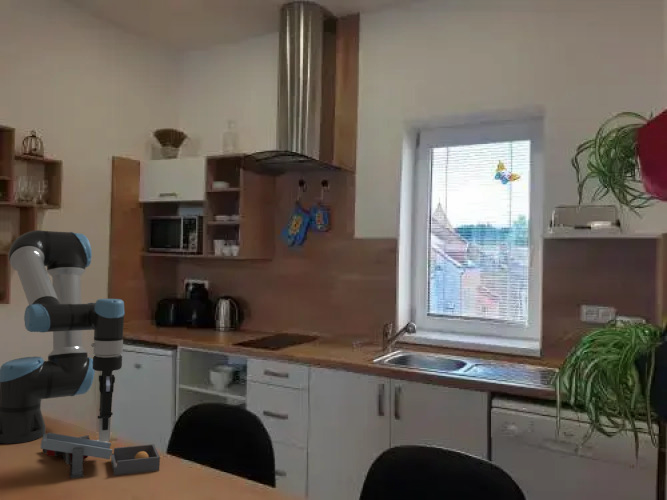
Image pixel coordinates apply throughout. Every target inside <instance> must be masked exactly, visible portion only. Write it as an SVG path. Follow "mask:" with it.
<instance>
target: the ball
mask: <svg viewBox="0 0 667 500" xmlns="http://www.w3.org/2000/svg"><path fill="white" fill-rule="evenodd" d="M140 458H149V456H148V454H147V453H146V452H144V451H141V452H138V453H137V454H136V456H135V459H140Z"/></svg>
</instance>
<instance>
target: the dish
mask: <svg viewBox="0 0 667 500" xmlns="http://www.w3.org/2000/svg"><path fill="white" fill-rule="evenodd" d="M141 451H144V452H146V453H147V454H148V456H149V458H140V459H135V456H136V454H137V453H138V452H141ZM110 462H111V468H112V472H113V476H122V475H132V474H140V473H141V474H142V473H149V472H156V471H157V472H159V471H160V462H161V456H160V454H159V451H158V450H157V448H156V445H155V443H154V444H153V443H152V444H143V445H131V446H121V447H119V446H118V447H113V452H112V453H111V456H110Z"/></svg>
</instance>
